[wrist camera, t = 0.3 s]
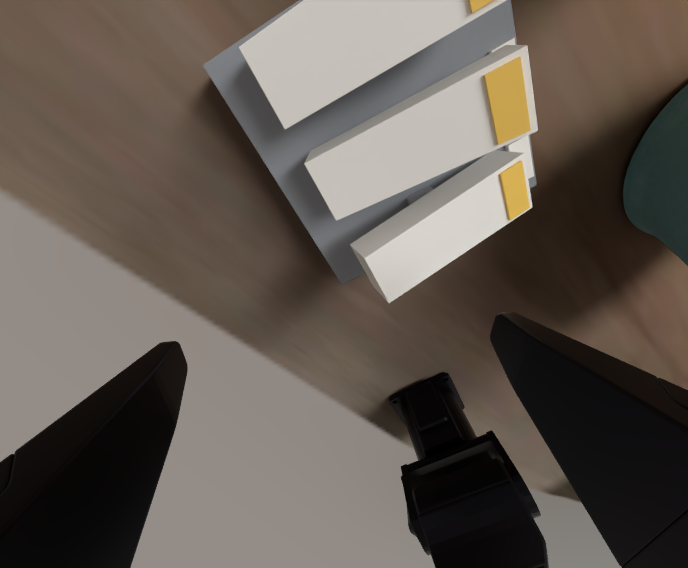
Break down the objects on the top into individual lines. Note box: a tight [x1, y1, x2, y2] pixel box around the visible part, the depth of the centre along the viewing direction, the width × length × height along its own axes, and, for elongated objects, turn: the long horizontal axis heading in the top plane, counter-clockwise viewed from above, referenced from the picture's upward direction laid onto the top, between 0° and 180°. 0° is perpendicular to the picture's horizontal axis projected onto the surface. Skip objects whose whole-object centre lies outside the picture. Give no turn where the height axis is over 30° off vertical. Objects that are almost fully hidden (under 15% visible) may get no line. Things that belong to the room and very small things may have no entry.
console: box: [203, 0, 537, 285], centre depth 17 cm, size 13×13×4 cm
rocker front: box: [239, 0, 506, 129], centre depth 11 cm, size 3×9×2 cm, turn 117°
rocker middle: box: [304, 45, 538, 221], centre depth 14 cm, size 3×9×2 cm, turn 117°
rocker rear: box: [350, 150, 532, 303], centre depth 16 cm, size 3×9×2 cm, turn 117°
